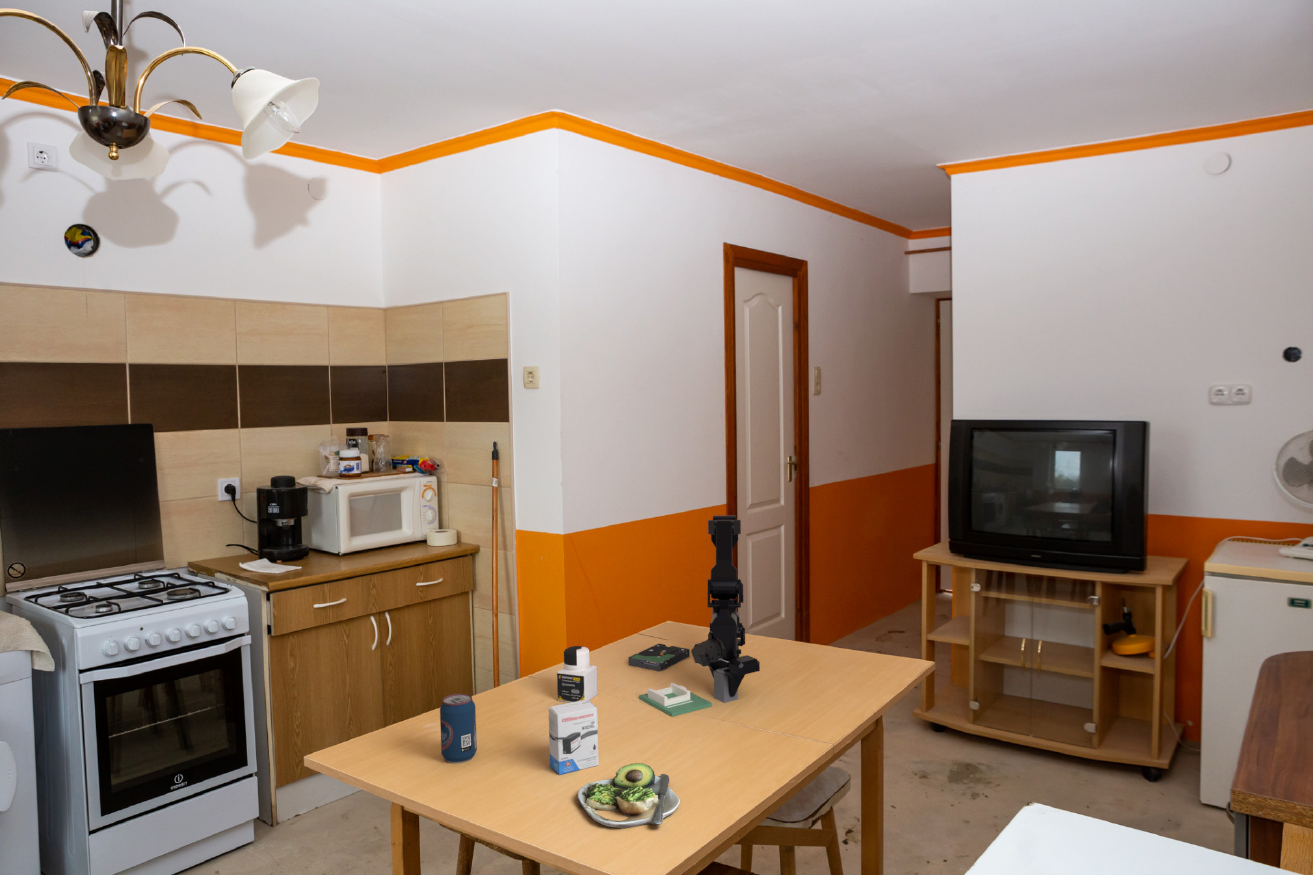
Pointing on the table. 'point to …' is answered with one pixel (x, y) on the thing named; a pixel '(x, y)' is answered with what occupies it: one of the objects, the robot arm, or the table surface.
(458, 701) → the soda can
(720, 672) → the plug
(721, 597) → the robot arm
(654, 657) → the disk drive
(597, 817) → the avocado toast plate
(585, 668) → the medicine bottle
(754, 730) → the table surface
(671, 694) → the board
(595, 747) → the ink box
